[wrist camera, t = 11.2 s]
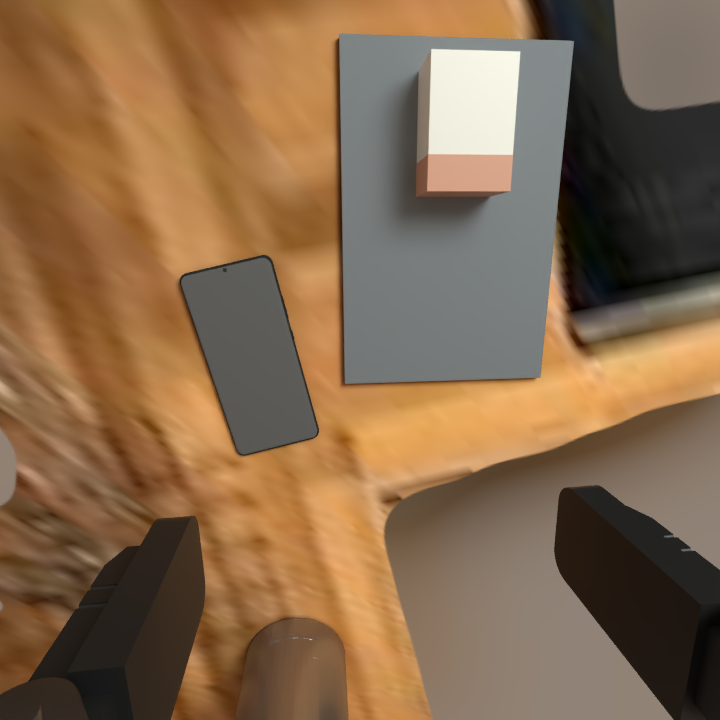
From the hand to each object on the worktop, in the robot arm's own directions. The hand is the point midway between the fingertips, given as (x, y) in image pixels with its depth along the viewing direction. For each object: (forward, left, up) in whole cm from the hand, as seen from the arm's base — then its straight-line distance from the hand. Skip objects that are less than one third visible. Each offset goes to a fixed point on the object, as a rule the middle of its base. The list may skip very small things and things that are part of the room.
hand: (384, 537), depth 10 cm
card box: (+13, -8, -25) cm, 30 cm away
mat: (+7, -8, -26) cm, 28 cm away
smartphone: (-3, +7, -27) cm, 27 cm away
